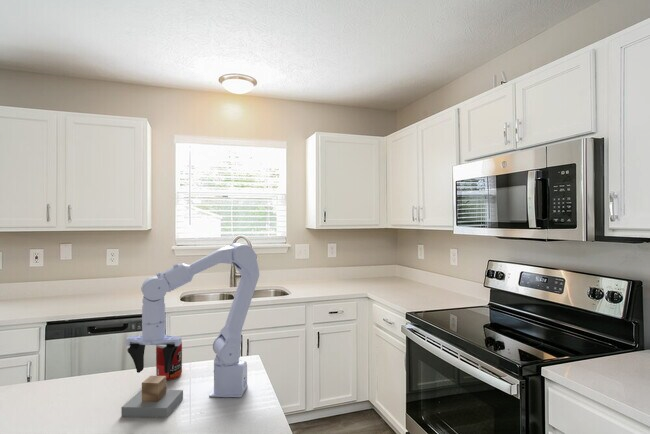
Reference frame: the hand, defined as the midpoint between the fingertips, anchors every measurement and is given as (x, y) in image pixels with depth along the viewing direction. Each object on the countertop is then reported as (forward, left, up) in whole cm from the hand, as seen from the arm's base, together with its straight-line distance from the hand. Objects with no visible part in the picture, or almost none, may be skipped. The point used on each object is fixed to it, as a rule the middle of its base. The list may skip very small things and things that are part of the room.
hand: (153, 371), depth 101 cm
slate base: (0, 0, -10) cm, 10 cm away
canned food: (+5, -20, -10) cm, 23 cm away
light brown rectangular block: (0, 0, -7) cm, 7 cm away
